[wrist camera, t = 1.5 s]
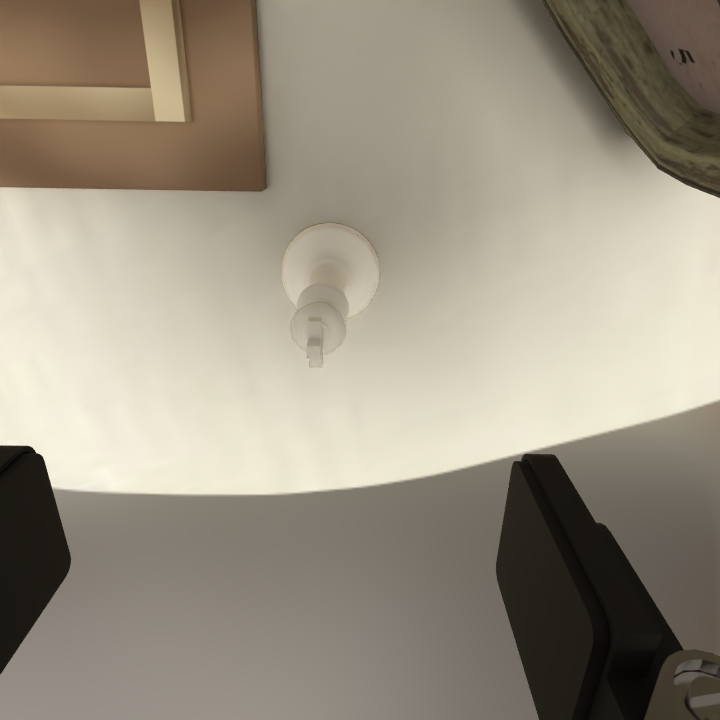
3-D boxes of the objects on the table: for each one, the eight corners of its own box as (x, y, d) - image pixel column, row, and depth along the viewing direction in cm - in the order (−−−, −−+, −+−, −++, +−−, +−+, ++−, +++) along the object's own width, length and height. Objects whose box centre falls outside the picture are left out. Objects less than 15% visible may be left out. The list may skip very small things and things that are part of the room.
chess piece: (284, 318, 27) (244, 416, 18) (278, 222, 25) (230, 278, 16) (378, 318, 27) (386, 417, 18) (380, 223, 25) (391, 279, 16)
